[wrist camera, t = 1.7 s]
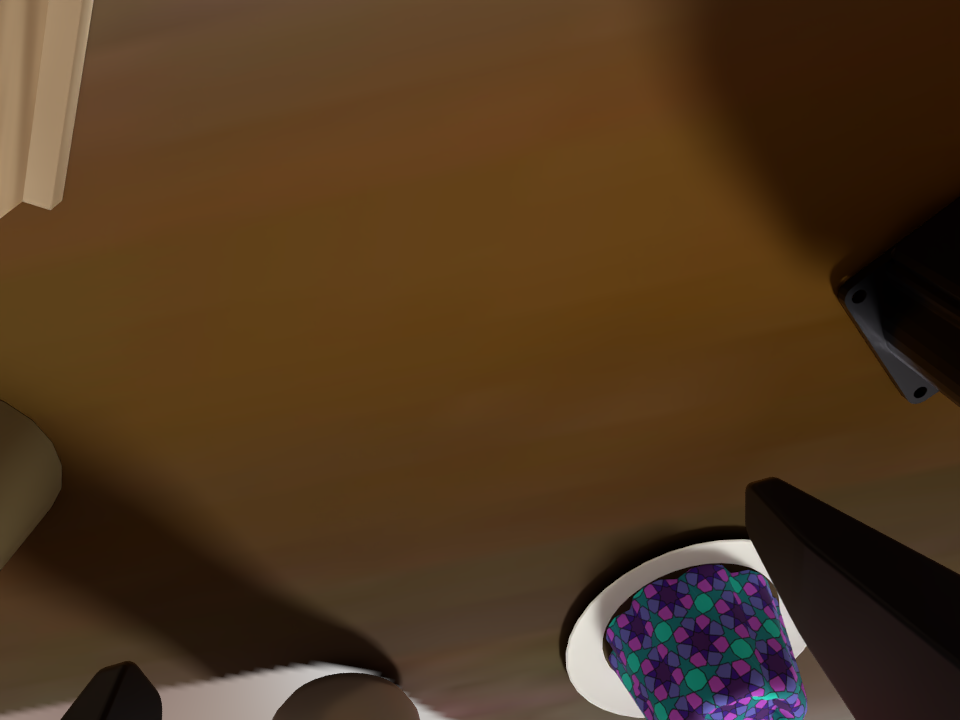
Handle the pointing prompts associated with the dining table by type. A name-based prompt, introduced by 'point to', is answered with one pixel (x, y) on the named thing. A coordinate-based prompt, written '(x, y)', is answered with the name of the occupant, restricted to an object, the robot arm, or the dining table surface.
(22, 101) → the cradle
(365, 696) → the plastic bottle
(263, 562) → the dining table surface
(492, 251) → the dining table surface
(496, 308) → the dining table surface
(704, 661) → the patterned bowl
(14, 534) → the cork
